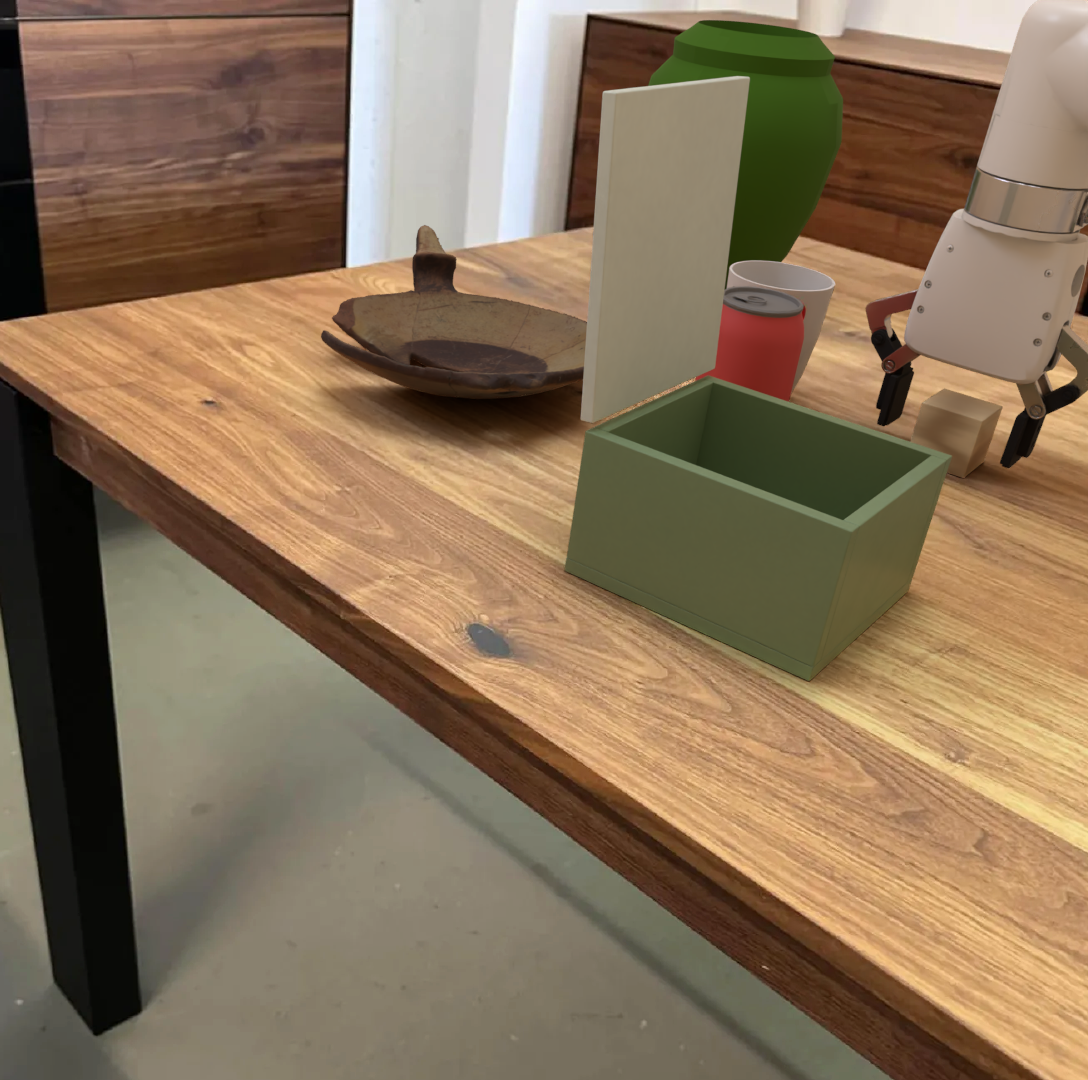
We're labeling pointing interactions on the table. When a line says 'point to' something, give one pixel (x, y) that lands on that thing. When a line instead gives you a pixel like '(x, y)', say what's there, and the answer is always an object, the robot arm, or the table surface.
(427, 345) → the oil lamp
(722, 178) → the grey box lid
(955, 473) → the block
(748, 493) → the open green box
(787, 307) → the beer can
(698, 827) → the table surface
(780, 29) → the vase
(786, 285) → the cup
